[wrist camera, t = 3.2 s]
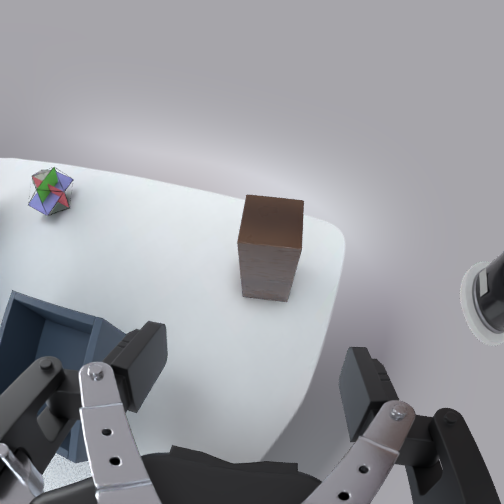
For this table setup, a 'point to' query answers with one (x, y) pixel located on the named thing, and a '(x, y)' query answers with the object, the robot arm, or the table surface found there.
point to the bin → (52, 348)
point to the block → (269, 246)
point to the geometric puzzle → (49, 190)
